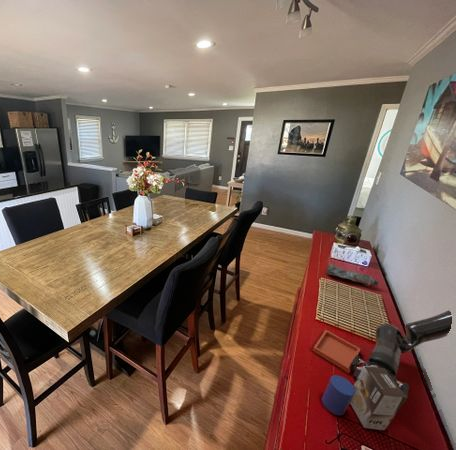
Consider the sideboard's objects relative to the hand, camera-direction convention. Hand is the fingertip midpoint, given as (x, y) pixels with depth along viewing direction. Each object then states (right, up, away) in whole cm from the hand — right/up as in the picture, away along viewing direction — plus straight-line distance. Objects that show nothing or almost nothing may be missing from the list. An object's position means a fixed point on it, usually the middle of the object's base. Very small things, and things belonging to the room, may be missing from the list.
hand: (372, 390), depth 75 cm
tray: (+6, 0, +24) cm, 24 cm away
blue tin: (-9, -8, +4) cm, 13 cm away
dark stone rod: (+50, +18, +71) cm, 89 cm away
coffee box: (-1, -9, +2) cm, 9 cm away
